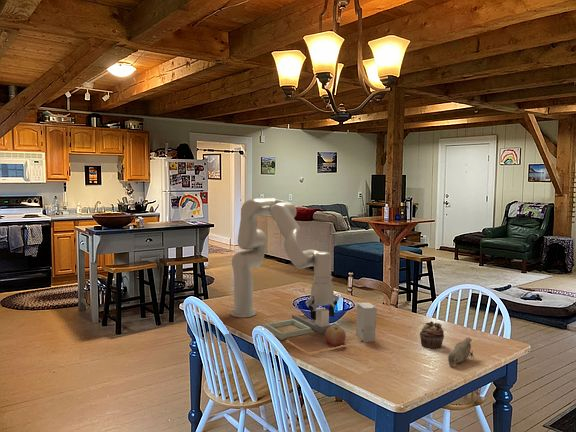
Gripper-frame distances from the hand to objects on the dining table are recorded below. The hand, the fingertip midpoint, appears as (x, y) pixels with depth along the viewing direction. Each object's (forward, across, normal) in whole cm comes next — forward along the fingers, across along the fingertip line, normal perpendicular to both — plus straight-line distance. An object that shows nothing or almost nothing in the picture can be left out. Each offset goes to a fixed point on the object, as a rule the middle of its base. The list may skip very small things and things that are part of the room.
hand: (322, 317), depth 211 cm
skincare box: (+7, -11, +17) cm, 21 cm away
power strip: (+6, 0, -10) cm, 12 cm away
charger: (+5, 0, 0) cm, 5 cm away
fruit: (+7, +5, +17) cm, 19 cm away
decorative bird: (+7, -26, +54) cm, 60 cm away
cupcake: (+7, -29, +37) cm, 47 cm away
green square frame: (+6, +14, -6) cm, 17 cm away
